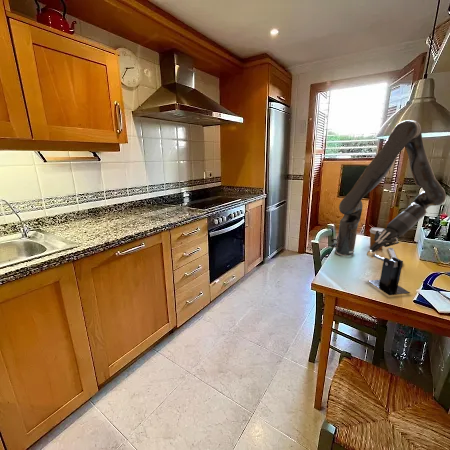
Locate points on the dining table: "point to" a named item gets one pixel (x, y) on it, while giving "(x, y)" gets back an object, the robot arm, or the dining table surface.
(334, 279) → the dining table surface
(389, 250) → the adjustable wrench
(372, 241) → the disposable coffee cup
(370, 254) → the lever
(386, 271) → the bracket
